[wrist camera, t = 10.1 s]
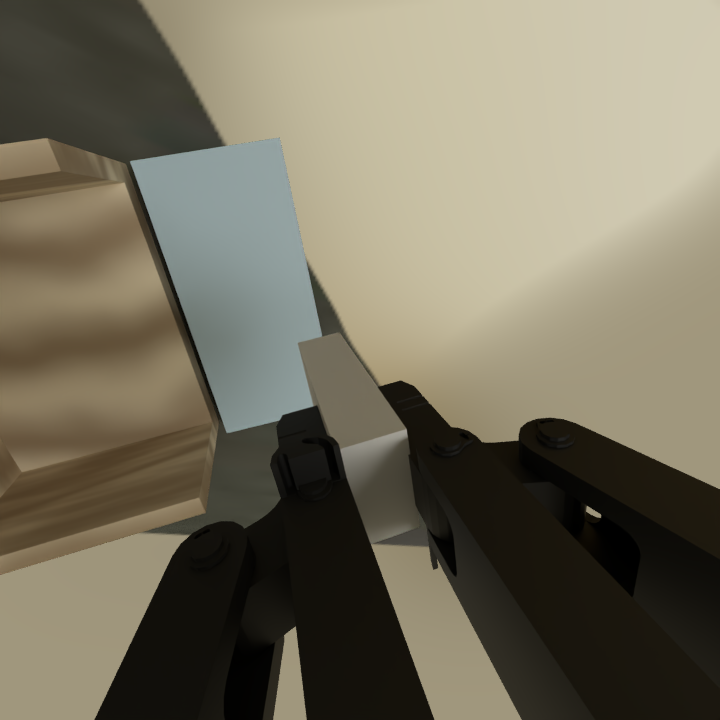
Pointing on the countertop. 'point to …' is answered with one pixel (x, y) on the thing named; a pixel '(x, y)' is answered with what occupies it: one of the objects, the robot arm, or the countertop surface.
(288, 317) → the panel
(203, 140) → the countertop surface
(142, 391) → the crate
